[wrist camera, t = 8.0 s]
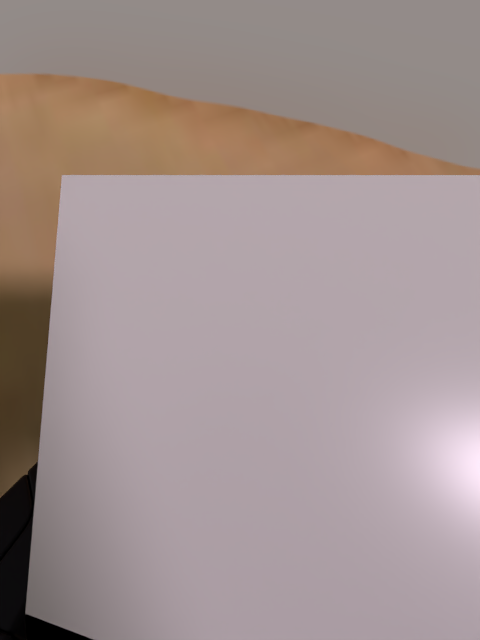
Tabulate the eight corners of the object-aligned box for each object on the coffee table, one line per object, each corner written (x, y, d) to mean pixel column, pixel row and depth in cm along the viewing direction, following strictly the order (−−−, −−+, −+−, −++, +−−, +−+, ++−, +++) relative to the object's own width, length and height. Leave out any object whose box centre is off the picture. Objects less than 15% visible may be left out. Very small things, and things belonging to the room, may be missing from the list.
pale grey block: (315, 471, 13) (848, 826, 2) (182, 488, 12) (-22, 1171, 1) (296, 342, 15) (549, 175, 4) (177, 351, 14) (62, 175, 3)
